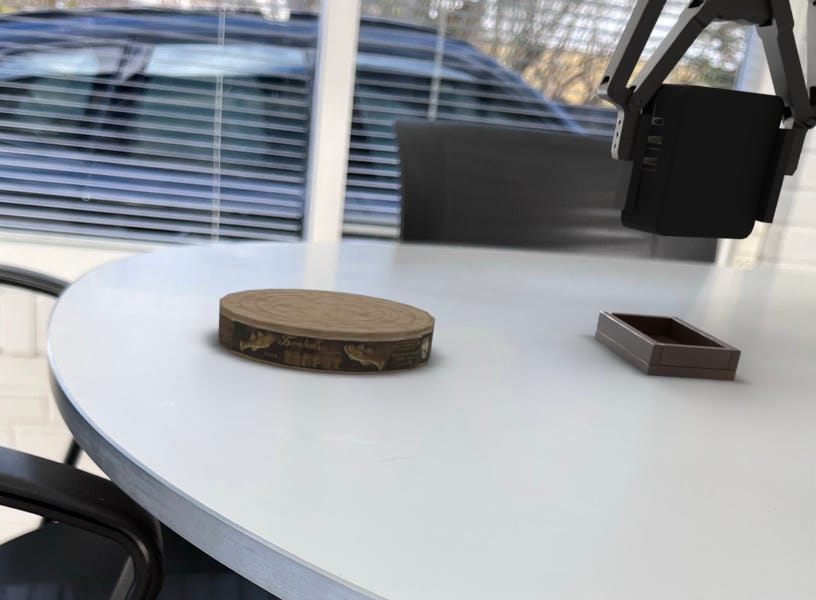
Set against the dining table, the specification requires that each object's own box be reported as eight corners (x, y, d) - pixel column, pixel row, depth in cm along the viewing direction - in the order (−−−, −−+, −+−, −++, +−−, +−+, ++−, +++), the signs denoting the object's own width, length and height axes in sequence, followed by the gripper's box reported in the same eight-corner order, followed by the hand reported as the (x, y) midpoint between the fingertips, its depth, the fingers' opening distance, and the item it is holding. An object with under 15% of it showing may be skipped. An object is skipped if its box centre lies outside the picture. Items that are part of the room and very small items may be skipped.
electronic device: (617, 227, 82) (646, 81, 77) (713, 231, 86) (746, 93, 81) (653, 235, 78) (686, 84, 74) (751, 240, 83) (788, 96, 78)
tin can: (180, 353, 74) (181, 309, 73) (265, 318, 88) (267, 280, 87) (397, 389, 70) (402, 344, 69) (451, 347, 84) (456, 308, 83)
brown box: (670, 346, 93) (677, 316, 92) (733, 383, 81) (742, 350, 80) (593, 340, 92) (599, 311, 91) (646, 377, 80) (653, 344, 79)
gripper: (627, -170, 67) (561, 207, 77) (961, -124, 69) (855, 233, 80) (591, -147, 73) (535, 197, 83) (897, -107, 76) (807, 221, 86)
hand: (691, 215), depth 81 cm, fingers closed on electronic device, 10 cm apart
